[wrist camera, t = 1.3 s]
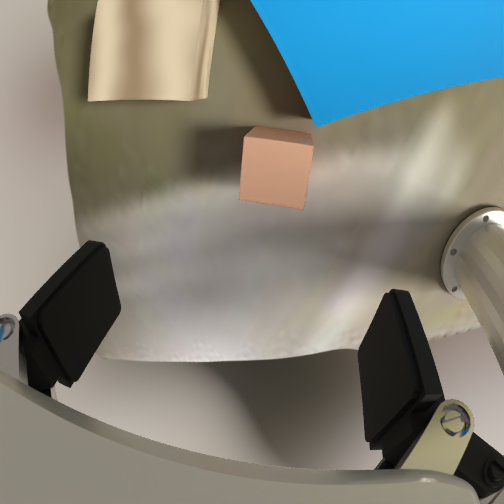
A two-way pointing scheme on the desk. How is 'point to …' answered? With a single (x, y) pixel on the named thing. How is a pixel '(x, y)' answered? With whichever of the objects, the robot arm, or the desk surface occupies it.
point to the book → (383, 48)
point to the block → (276, 167)
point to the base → (152, 49)
